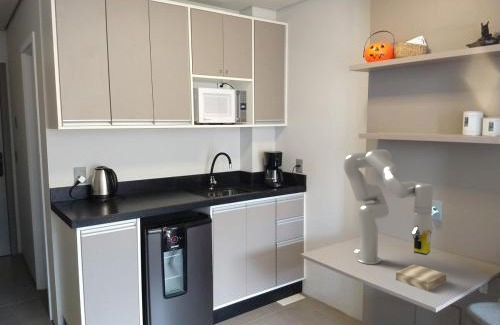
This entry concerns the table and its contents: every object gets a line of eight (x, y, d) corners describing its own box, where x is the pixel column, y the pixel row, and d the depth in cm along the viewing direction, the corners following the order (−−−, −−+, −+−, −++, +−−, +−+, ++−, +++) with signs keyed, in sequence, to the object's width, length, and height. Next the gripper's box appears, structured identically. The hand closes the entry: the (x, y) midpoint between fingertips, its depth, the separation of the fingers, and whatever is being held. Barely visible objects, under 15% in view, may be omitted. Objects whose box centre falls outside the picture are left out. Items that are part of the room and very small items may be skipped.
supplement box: (417, 249, 184) (417, 227, 182) (430, 252, 180) (431, 229, 179) (413, 252, 179) (413, 230, 178) (426, 255, 175) (427, 232, 174)
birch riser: (395, 279, 183) (396, 271, 182) (414, 271, 192) (414, 264, 192) (427, 291, 170) (428, 282, 169) (446, 282, 179) (446, 274, 179)
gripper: (425, 206, 185) (424, 241, 187) (405, 211, 175) (404, 248, 177) (440, 208, 179) (439, 245, 181) (420, 214, 169) (419, 253, 171)
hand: (422, 246), depth 179 cm, fingers closed on supplement box, 6 cm apart
